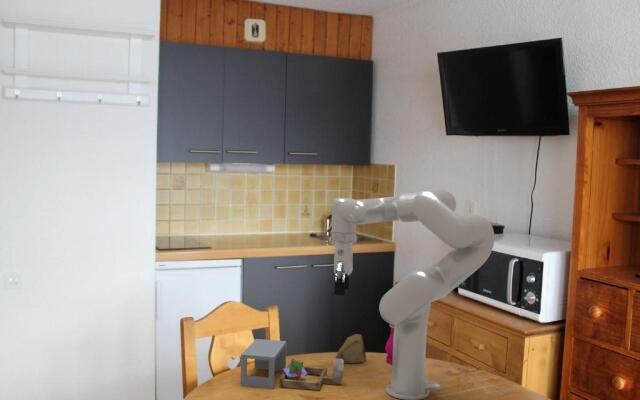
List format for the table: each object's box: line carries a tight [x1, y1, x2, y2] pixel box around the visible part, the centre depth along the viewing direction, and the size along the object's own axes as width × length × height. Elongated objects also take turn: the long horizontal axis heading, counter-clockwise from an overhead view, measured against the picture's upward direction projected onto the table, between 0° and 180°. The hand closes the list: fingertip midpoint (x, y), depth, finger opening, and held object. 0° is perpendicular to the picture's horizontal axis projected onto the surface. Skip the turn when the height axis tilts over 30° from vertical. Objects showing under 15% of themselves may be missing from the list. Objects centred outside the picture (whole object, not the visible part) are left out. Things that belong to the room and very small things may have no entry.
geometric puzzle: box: [283, 358, 309, 381], centre depth 206 cm, size 7×7×8 cm
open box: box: [240, 338, 287, 390], centre depth 208 cm, size 10×17×10 cm, turn 171°
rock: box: [334, 333, 367, 364], centre depth 227 cm, size 11×9×10 cm
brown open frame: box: [279, 358, 345, 391], centre depth 206 cm, size 18×14×7 cm
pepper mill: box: [384, 323, 395, 365], centre depth 227 cm, size 7×7×20 cm
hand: (341, 291), depth 213 cm, fingers open, 9 cm apart
